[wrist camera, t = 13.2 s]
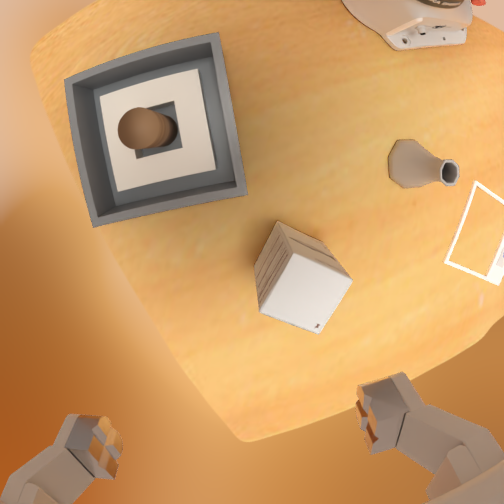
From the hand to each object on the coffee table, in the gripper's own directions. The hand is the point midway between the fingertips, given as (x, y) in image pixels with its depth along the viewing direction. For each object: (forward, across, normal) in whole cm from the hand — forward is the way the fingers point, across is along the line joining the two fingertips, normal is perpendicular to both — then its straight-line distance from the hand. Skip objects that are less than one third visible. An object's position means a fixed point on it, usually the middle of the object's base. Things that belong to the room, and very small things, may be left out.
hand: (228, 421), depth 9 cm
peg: (+32, +7, -11) cm, 35 cm away
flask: (+33, -25, -2) cm, 42 cm away
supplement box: (+33, -6, +8) cm, 35 cm away
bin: (+33, +7, -11) cm, 36 cm away
